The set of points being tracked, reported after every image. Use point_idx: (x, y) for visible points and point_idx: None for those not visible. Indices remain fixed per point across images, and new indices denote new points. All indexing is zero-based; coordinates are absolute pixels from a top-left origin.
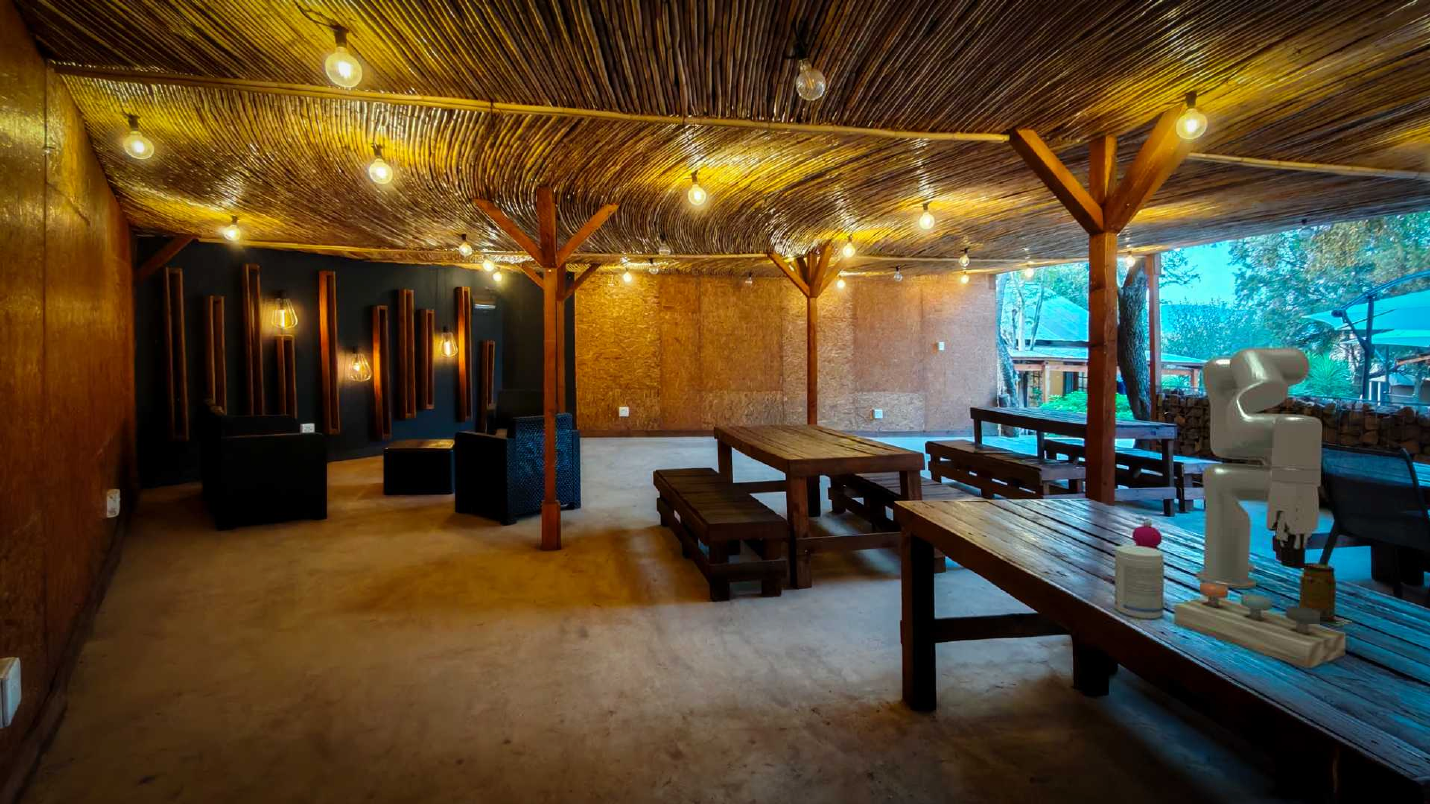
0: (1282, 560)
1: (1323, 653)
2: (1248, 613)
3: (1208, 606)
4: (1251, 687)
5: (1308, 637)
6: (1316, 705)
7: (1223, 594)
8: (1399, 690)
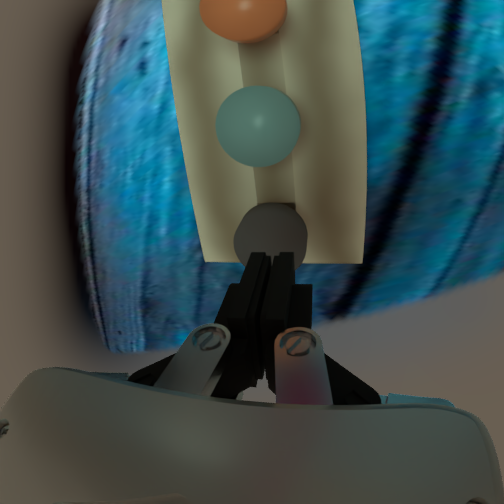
0: (248, 266)
1: None
2: (285, 92)
3: None
4: (92, 237)
5: None
6: (126, 289)
7: (235, 41)
8: None
